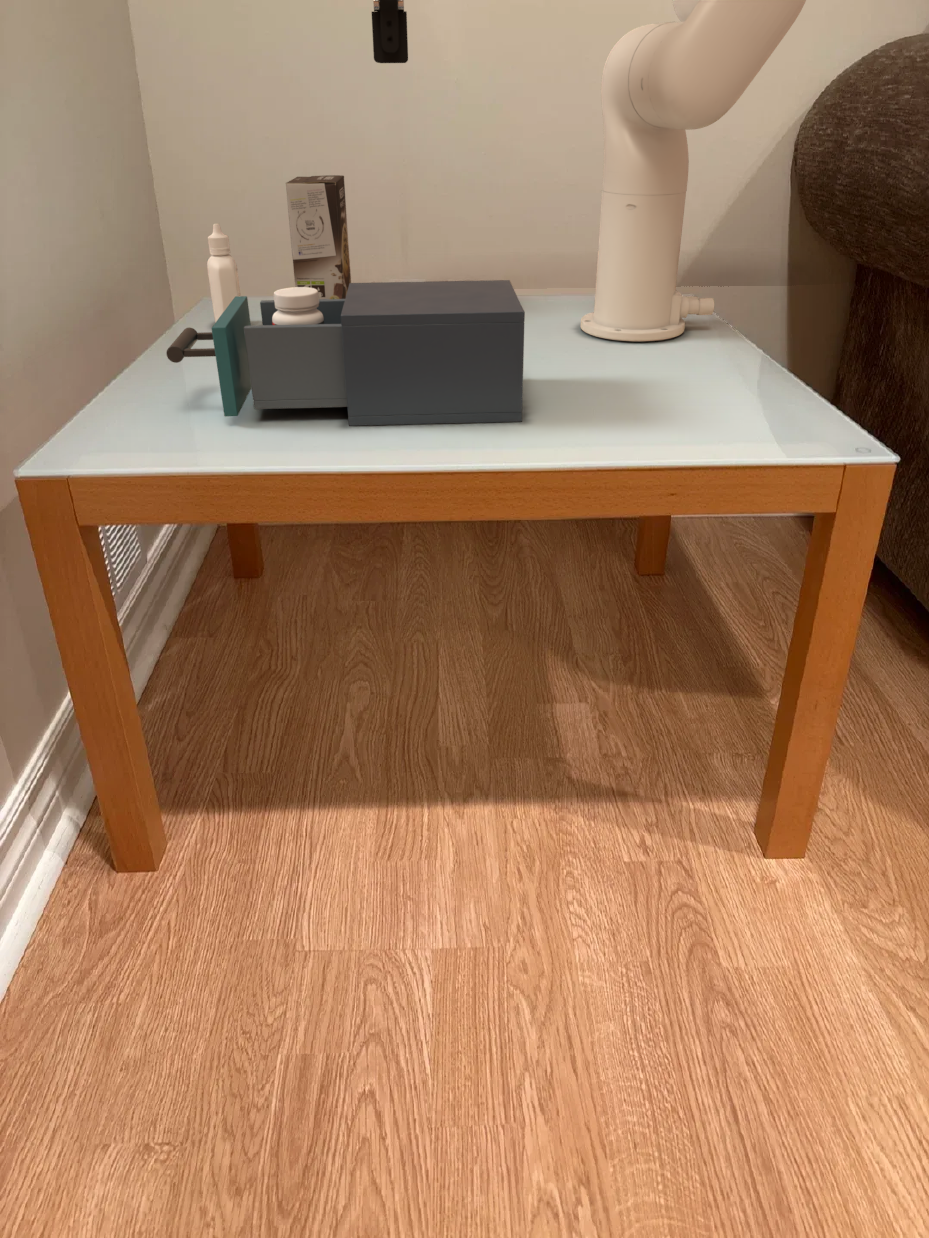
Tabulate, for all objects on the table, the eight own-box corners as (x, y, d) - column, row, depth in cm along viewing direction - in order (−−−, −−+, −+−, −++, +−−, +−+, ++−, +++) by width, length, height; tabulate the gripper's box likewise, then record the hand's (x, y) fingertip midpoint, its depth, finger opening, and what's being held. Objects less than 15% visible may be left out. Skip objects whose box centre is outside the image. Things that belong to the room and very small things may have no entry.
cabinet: (348, 426, 83) (340, 315, 78) (356, 381, 95) (349, 282, 90) (521, 421, 84) (524, 311, 79) (507, 378, 96) (509, 280, 91)
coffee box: (346, 318, 119) (336, 181, 111) (296, 318, 119) (283, 181, 111) (354, 303, 127) (345, 174, 119) (307, 303, 127) (296, 174, 119)
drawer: (168, 418, 83) (152, 328, 79) (196, 377, 93) (183, 297, 89) (386, 413, 83) (381, 324, 79) (388, 373, 94) (384, 293, 90)
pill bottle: (270, 380, 88) (259, 290, 84) (313, 372, 91) (305, 283, 87) (293, 392, 85) (284, 299, 81) (337, 383, 88) (330, 292, 83)
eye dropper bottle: (253, 321, 118) (241, 220, 112) (239, 332, 113) (226, 227, 107) (220, 320, 118) (206, 220, 112) (205, 331, 114) (190, 227, 108)
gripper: (426, -185, 74) (432, 62, 83) (423, -143, 89) (428, 63, 98) (333, -186, 74) (348, 63, 83) (345, -143, 89) (357, 63, 97)
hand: (391, 63), depth 90 cm, fingers open, 9 cm apart
